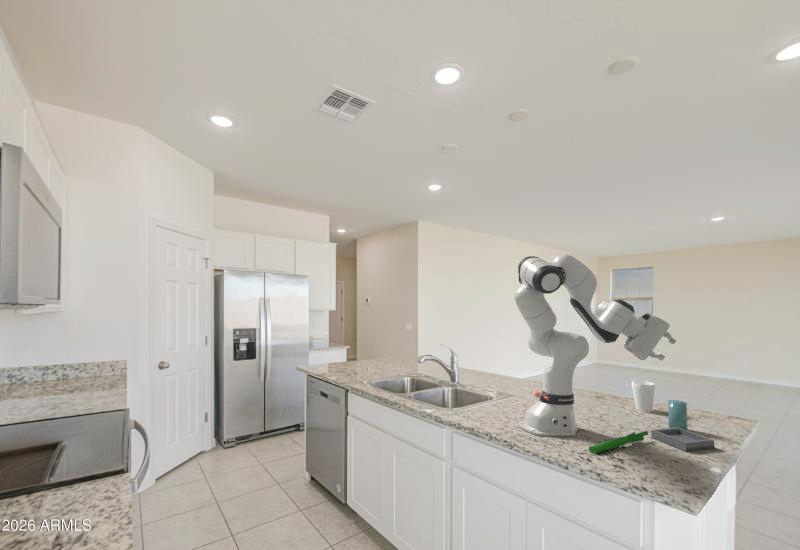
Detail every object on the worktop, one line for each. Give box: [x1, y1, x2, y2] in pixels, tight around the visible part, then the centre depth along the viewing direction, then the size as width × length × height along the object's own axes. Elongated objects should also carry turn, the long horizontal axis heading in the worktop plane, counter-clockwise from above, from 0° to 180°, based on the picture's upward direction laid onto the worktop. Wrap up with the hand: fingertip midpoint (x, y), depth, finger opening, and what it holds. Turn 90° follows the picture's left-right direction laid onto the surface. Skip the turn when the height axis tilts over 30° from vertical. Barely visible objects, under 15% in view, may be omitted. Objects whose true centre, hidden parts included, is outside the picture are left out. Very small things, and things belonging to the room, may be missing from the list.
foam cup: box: [631, 380, 656, 413], centre depth 173 cm, size 10×9×13 cm
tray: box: [650, 427, 715, 453], centre depth 134 cm, size 13×13×3 cm
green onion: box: [588, 430, 649, 455], centre depth 130 cm, size 5×3×30 cm
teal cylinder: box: [667, 399, 689, 431], centre depth 148 cm, size 6×6×11 cm
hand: (669, 350), depth 145 cm, fingers open, 8 cm apart
